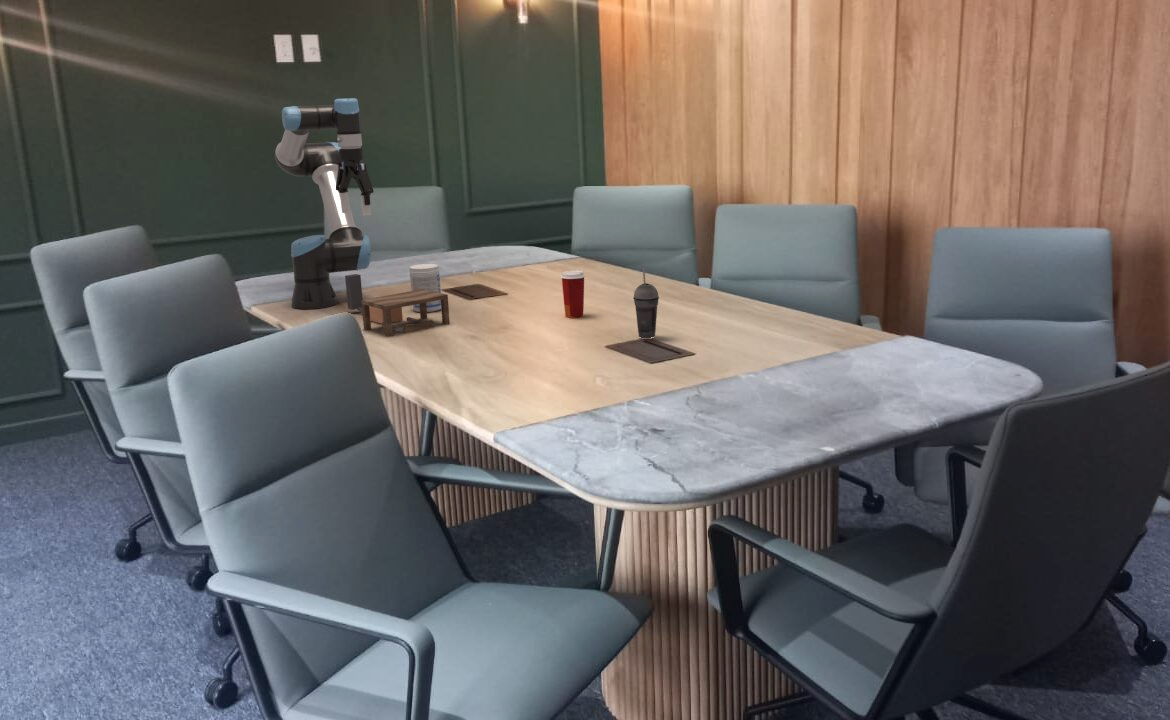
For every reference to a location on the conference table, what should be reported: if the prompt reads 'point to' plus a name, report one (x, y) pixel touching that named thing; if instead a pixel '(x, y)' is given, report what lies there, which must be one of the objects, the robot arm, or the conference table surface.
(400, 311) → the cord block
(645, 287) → the beverage cup
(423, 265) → the supplement tub
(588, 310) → the conference table surface
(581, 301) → the paper cup
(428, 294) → the shelf
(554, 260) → the conference table surface
